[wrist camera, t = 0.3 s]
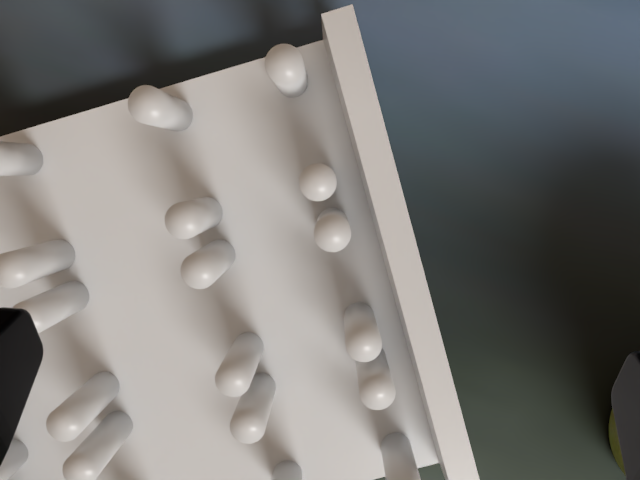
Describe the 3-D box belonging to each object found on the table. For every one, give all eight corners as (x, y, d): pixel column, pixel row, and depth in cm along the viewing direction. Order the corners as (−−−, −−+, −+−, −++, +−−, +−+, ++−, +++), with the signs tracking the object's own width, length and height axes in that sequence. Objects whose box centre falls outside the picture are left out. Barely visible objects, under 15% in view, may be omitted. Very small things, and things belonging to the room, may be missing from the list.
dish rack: (458, 444, 24) (487, 508, 19) (10, 558, 25) (-60, 643, 20) (348, 38, 22) (352, 4, 17) (-131, 181, 23) (-243, 184, 19)
